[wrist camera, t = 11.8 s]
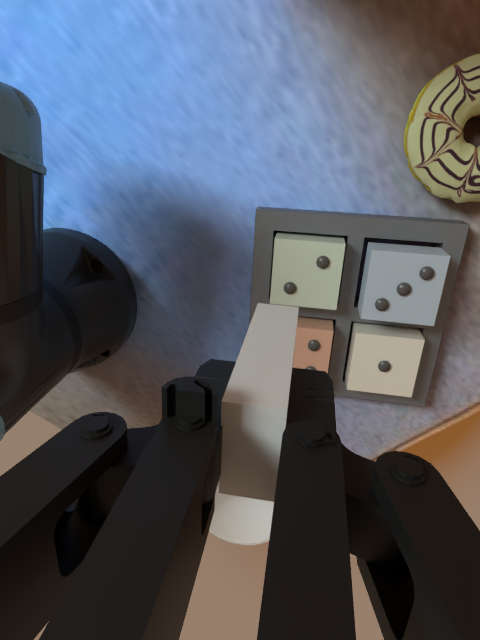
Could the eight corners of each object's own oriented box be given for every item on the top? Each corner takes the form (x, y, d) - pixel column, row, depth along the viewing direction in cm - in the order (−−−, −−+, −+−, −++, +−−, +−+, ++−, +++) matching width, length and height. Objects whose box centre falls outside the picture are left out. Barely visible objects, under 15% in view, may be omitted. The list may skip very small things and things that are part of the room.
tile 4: (267, 365, 45) (263, 381, 42) (271, 312, 43) (267, 325, 40) (325, 372, 44) (325, 388, 41) (332, 318, 42) (333, 332, 39)
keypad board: (248, 374, 47) (246, 384, 45) (258, 206, 40) (255, 209, 38) (420, 395, 45) (424, 406, 43) (462, 220, 38) (469, 224, 36)
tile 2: (272, 293, 42) (269, 304, 39) (277, 231, 40) (274, 238, 37) (335, 299, 41) (336, 311, 38) (343, 236, 39) (345, 244, 36)
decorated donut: (502, 213, 37) (521, 220, 34) (381, 180, 38) (388, 184, 34) (569, 79, 33) (598, 72, 30) (431, 44, 34) (444, 34, 30)
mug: (266, 383, 47) (254, 459, 36) (306, 441, 50) (306, 529, 39) (182, 423, 51) (148, 502, 40) (223, 475, 54) (201, 563, 43)
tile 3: (357, 306, 40) (361, 319, 37) (368, 242, 37) (372, 250, 35) (425, 313, 39) (434, 327, 36) (440, 247, 37) (451, 256, 34)
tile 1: (344, 374, 44) (346, 390, 41) (353, 320, 42) (356, 333, 39) (405, 381, 43) (411, 398, 41) (417, 326, 41) (425, 341, 38)
